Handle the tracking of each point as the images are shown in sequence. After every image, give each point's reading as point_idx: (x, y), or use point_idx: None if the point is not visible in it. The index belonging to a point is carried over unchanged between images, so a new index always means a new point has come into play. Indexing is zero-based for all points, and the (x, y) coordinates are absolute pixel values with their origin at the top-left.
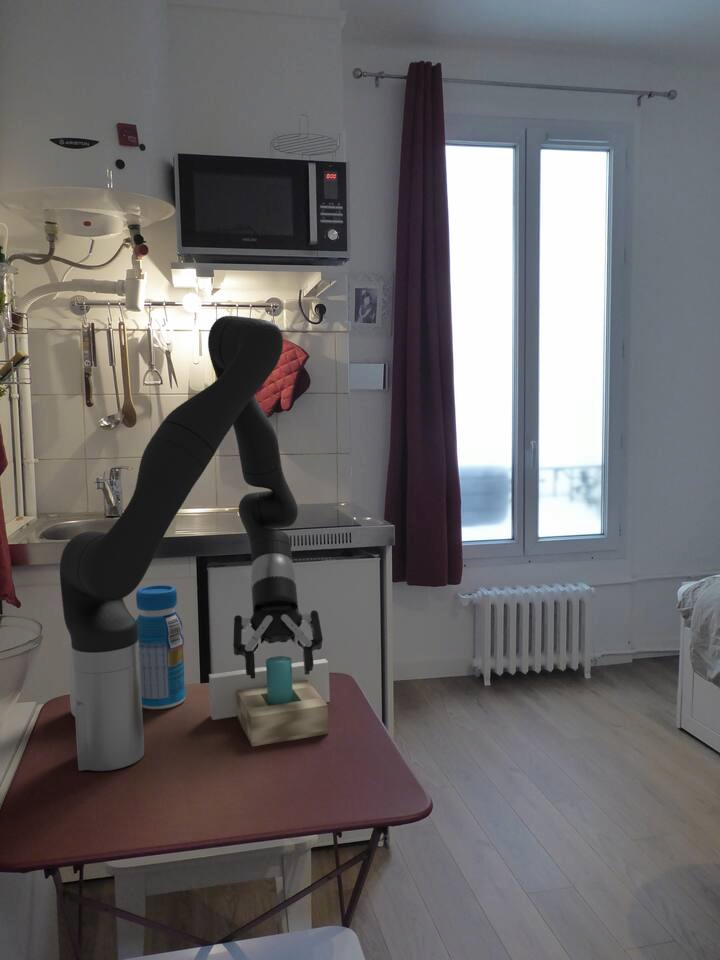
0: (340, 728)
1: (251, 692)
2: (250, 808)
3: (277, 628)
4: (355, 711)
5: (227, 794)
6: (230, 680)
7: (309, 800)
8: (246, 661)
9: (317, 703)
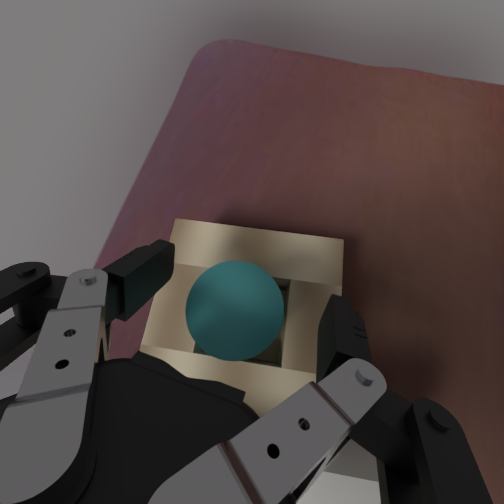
0: None
1: None
2: (373, 103)
3: (159, 420)
4: None
5: (395, 140)
6: (362, 471)
7: (303, 92)
8: (364, 340)
9: (189, 236)
